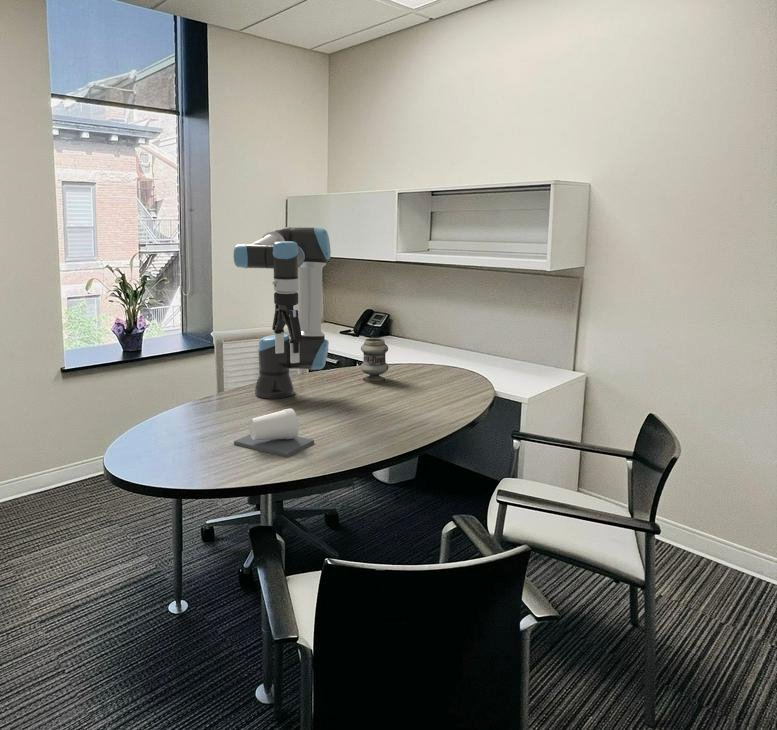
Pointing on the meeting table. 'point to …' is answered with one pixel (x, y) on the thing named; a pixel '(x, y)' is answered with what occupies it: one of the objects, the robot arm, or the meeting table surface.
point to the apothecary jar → (374, 359)
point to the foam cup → (274, 426)
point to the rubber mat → (275, 445)
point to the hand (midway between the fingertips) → (287, 357)
